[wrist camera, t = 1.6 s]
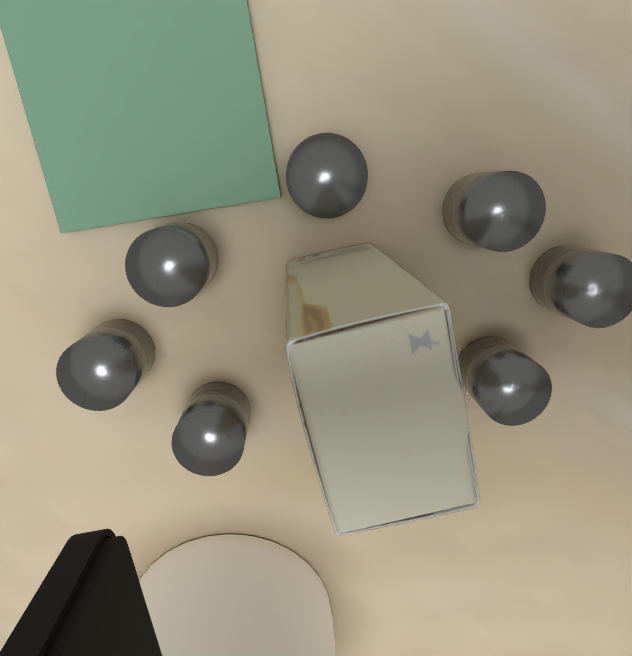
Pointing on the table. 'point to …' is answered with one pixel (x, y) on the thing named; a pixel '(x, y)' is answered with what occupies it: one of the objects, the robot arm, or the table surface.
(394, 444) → the skincare box
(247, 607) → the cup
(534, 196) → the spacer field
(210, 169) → the coaster
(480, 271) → the table surface
